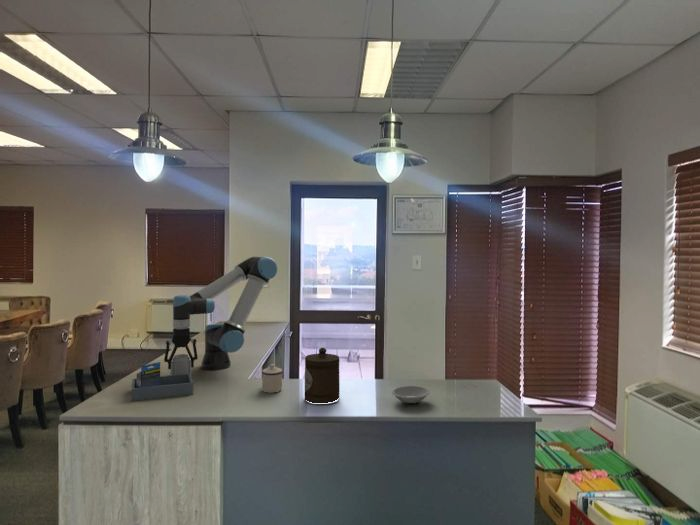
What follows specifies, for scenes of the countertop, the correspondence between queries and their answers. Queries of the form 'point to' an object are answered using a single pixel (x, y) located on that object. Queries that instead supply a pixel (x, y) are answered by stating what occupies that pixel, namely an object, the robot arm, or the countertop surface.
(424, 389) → the dish
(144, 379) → the blue retail box
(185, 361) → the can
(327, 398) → the wooden container
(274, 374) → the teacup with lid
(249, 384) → the countertop surface
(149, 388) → the tote
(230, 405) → the countertop surface
